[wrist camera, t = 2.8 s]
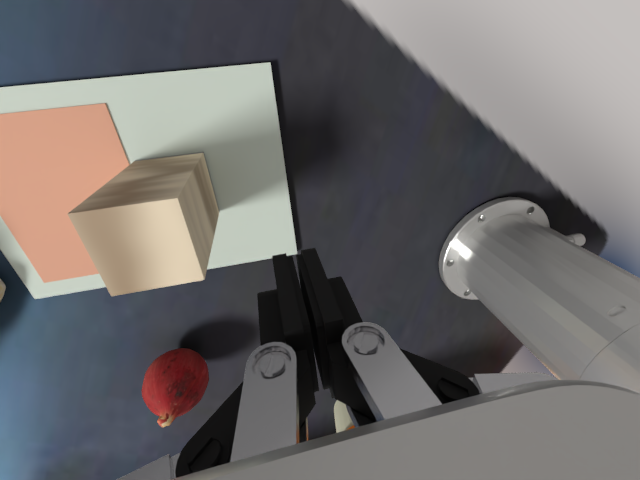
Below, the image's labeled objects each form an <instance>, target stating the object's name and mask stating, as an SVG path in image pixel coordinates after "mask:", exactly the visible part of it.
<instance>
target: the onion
mask: <svg viewBox="0 0 640 480" xmlns="http://www.w3.org/2000/svg"><path fill="white" fill-rule="evenodd" d="M208 381H209V375H208V368H207V364H206V362H205V360H204V359H203V358H202V356H201V355H200V354H199V353H197V352H195V351H193V350H191V349H186V348H179V349H175V350H171V351H168V352H166V353H165V354H163V355H161V356H160V357H158V358H157V359H155V360H154V362H153V363H152V364H151V365H150V366H149V368H148V370H147V371H146V373H145V377H144V381H143V386H142V397H143V399H144V402H145V403H146V405H147V406H148V408H149V409H150V411H152V412H153V413H154V414H156V415H158V416H159V419H158V421H157V422H158V424H159V425H160V426H161V427H165V426H169V425H170V424H171V423H172V422H173V420H174V419H175V418H176V417H178V416H181V415H183V414H185V413H187V412H188V411H190V410H191V409H192V408H193V407H194V406H195V405H196V404H197V403H198V402H199V401H200V400H201V398H202V396H203V394H204V392H205V390H206V387H207V384H208Z"/></svg>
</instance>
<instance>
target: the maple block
mask: <svg viewBox="0 0 640 480" xmlns="http://www.w3.org/2000/svg"><path fill="white" fill-rule="evenodd" d="M219 212H220V210H219V207H218V203H217V199H216V195H215V191H214V188H213V184H212V180H211V176H210V173H209V169H208V165H207V161H206V158H205V154H204V152H198V153H190V154H182V155H174V156H166V157H158V158H150V159H142V160H135V161H134V162H133V163H131V164H130V165H129V166H128V167H126V168H125V169H124V170H123V171H121V172H120V173H119V174H117V175H116V176H115V177H114V178H112V179H111V180H110V181H109V182H107V183H106V184H105V185H103V186H102V187H101V188H100V189H98V190H97V191H96V192H95V193H93V194H92V195H91V196H89V197H88V198H87V199H86V200H84V201H83V202H82V203H81V204H79V205H78V206H77V207H75V208H74V209H73V210H72V211H70V212H69V213H68V216H69V218H70V220H71V222H72V223H73V225H74V227H75V229H76V231H77V233H78V235H79V237H80V238H81V240H82V242H83V244H84V246H85V248H86V250H87V252H88V253H89V255H90V257H91V259H92V261H93V263H94V265H95V267H96V268H97V270H98V272H99V274H100V276H101V278H102V280H103V282H104V283H105V285H106V287H107V289H108V291H109V293H110V295H111V296H116V295H122V294H127V293H133V292H138V291H144V290H150V289H155V288H161V287H167V286H172V285H178V284H184V283H189V282H195V281H201V280H205V275H206V271H207V266H208V262H209V257H210V253H211V248H212V244H213V239H214V235H215V230H216V226H217V221H218V217H219Z"/></svg>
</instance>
